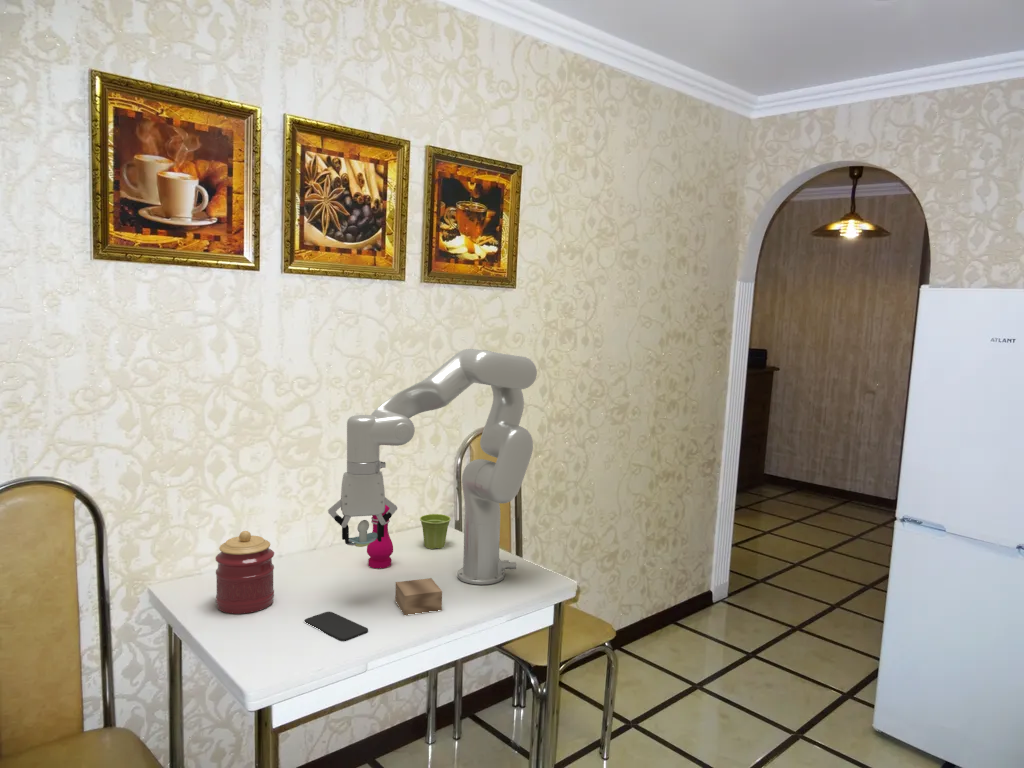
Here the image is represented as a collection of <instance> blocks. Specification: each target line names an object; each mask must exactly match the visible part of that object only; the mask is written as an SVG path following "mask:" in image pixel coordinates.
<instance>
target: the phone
mask: <svg viewBox="0 0 1024 768" xmlns="http://www.w3.org/2000/svg"><path fill="white" fill-rule="evenodd" d="M304 621H305V622H306V623H308V624H310V625H312V626H314V627H316V628H318V629H320V630H321V631H323V632H324V634H325V633H326V635H327V634H328V635H327V636H329V637H331V638H334V639H335V640H338V641H339V642H348V641H350V640H354V639H355V638H357V637H360V636H364V635H366V634H367V633H369V629H368V627H365V626H364V625H362V624H359V623H357V622H354V621H353V620H351V619H348V618H346V617H344V616H342V615H340V614H337V613H335V612H332V611H325V612H322V613H319V614H317V615H316V614H315V615H313V616H310V617H307V618H305V619H304ZM306 623H305V624H306ZM308 624H307V625H308ZM310 625H309V626H310ZM312 626H311V627H312ZM314 627H313V628H314ZM316 628H315V629H316ZM321 631H320V632H321ZM323 632H322V633H323Z"/></svg>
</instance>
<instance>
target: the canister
mask: <svg viewBox="0 0 1024 768" xmlns="http://www.w3.org/2000/svg"><path fill="white" fill-rule="evenodd" d="M270 547H271V542H270V540H269V541H268V539H265V538H263V537H262V536H258V535H252V534H251V532H250V531H249V530H243V531H241V532H240V533H239V534H238V536H235V537H231V538H229V539H228V540H226V541H225V542H224V543H221V544H220V546H219V547H218V549H219V551H220V552H218V553H217V554H216V556H215V561H216V562H217V569H216V570H215V575H216V578H215V579H216V595H215V603H216V607H217V609H218V610H219V611H221V612H223V613H226V614H235V615H239V614H240V615H241V614H249V613H255V612H258V611H262V610H264V609H267V608H268V607H269V606H271V605H272V604H273V602H274V598H275V589H274V570H275V565H274V564H273V559H272V558H273V557H274V556H275V552H274V550H273V549H271V548H270Z"/></svg>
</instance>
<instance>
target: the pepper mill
mask: <svg viewBox="0 0 1024 768" xmlns="http://www.w3.org/2000/svg"><path fill="white" fill-rule="evenodd" d="M389 509H390V508H389V507H388V506H387V505H385V511H384V513H383V514H382V516H383V515H384V514H385V513H386V512H388V510H389ZM370 519H371V524H372V532H375V533H377V523H378V518H377V516H376V515H372V517H371V518H370ZM390 522H391V521H390V519H389V520H388V521H387V522H386V523H385V525H384V537H381V542H379V541H378V539H376V540H375V541H373V542H371V543H370V544H369V545H368V546H366V554H367V555H368V556H369V558H368V567H369V566H370V567H369V568H371V567H372V569H376V568H378V569H377V570H379V568H380V570H381V568H382V569H387V568H389V567H391V565H392V557H391V555H393V553H394V545H393V541H392V539H391V537H390V534H389V533H390V532H389V523H390ZM372 532H371V533H372Z"/></svg>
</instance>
